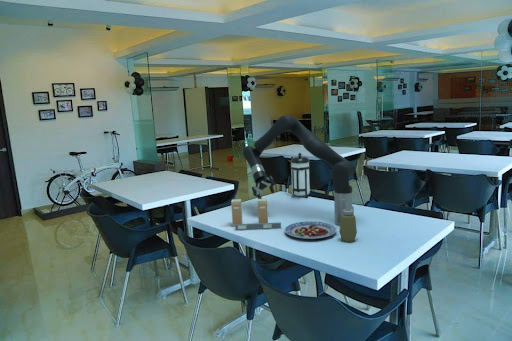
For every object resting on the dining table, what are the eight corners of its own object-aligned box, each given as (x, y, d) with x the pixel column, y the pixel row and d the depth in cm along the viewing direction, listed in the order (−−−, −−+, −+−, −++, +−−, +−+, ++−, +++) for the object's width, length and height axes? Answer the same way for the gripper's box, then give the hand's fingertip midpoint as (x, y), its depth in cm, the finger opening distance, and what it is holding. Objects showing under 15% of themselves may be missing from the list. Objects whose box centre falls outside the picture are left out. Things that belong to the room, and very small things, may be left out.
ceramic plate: (320, 222, 215) (320, 217, 215) (346, 236, 191) (346, 231, 191) (276, 229, 207) (276, 224, 206) (298, 245, 183) (298, 239, 182)
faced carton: (233, 223, 219) (232, 199, 216) (242, 223, 219) (241, 199, 216) (232, 226, 214) (231, 201, 211) (241, 226, 214) (240, 201, 211)
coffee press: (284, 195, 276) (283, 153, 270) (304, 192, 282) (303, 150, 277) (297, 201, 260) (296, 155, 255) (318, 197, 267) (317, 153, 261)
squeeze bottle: (344, 235, 192) (344, 199, 189) (359, 238, 187) (359, 202, 184) (336, 240, 186) (335, 203, 183) (352, 244, 181) (352, 206, 178)
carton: (258, 223, 217) (257, 198, 215) (268, 223, 217) (266, 198, 215) (258, 226, 212) (257, 201, 210) (268, 226, 212) (266, 201, 209)
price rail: (281, 227, 208) (280, 222, 208) (281, 228, 207) (280, 223, 206) (235, 229, 209) (235, 224, 209) (235, 230, 208) (235, 225, 207)
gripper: (245, 178, 232) (253, 201, 223) (264, 165, 227) (272, 188, 217) (253, 182, 237) (261, 204, 228) (271, 169, 232) (280, 191, 223)
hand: (266, 196), depth 223 cm, fingers open, 8 cm apart
